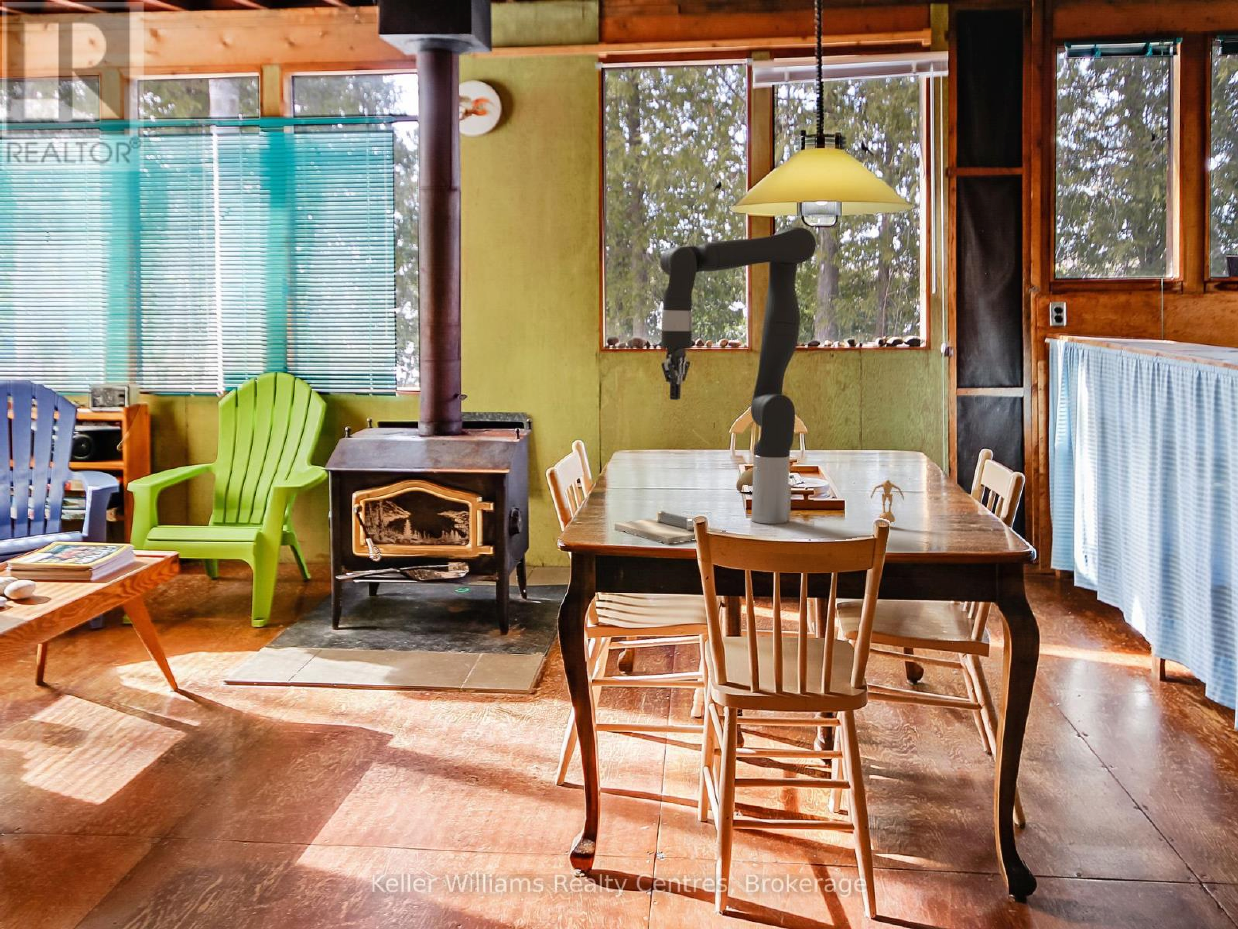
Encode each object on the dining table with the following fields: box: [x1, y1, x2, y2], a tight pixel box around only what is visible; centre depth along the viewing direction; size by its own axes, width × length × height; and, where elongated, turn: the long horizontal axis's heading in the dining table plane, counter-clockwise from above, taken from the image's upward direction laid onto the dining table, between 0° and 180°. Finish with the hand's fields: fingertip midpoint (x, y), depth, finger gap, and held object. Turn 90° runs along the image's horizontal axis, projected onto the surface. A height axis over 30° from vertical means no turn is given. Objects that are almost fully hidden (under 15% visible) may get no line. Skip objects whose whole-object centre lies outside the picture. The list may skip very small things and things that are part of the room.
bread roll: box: [735, 467, 753, 492], centre depth 334 cm, size 10×15×8 cm, turn 92°
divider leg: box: [657, 510, 695, 530], centre depth 272 cm, size 14×3×2 cm, turn 38°
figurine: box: [870, 479, 905, 523], centre depth 284 cm, size 8×6×12 cm
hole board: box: [614, 517, 727, 545], centre depth 272 cm, size 18×21×2 cm
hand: (675, 399), depth 276 cm, fingers closed
